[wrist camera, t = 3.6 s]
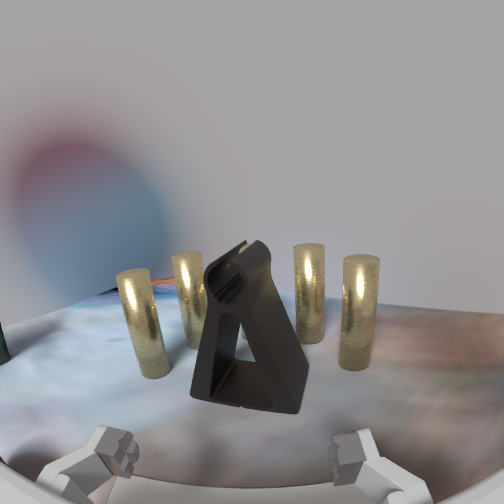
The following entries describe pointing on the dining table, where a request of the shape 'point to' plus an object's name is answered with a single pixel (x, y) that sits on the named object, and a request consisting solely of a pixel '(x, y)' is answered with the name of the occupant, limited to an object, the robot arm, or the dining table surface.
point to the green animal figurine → (3, 349)
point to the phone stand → (248, 337)
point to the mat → (230, 494)
